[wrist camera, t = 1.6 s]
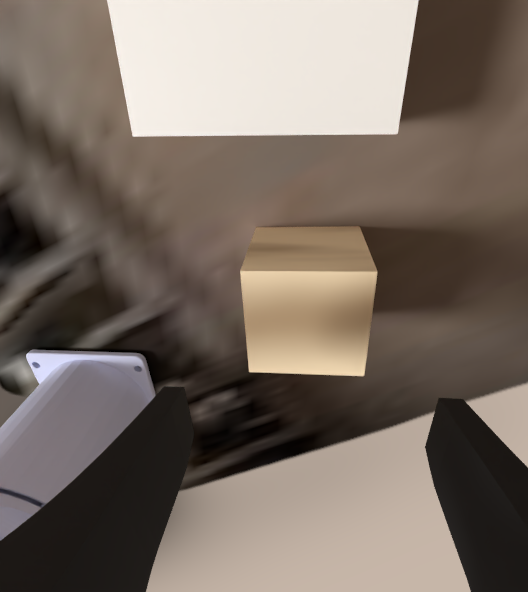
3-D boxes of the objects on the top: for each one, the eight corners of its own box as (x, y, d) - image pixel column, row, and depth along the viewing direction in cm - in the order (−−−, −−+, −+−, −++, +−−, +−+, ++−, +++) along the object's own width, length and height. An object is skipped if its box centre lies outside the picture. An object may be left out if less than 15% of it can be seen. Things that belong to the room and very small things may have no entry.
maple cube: (351, 313, 19) (363, 376, 15) (261, 311, 20) (248, 372, 16) (359, 225, 17) (377, 271, 13) (256, 226, 17) (240, 271, 13)
